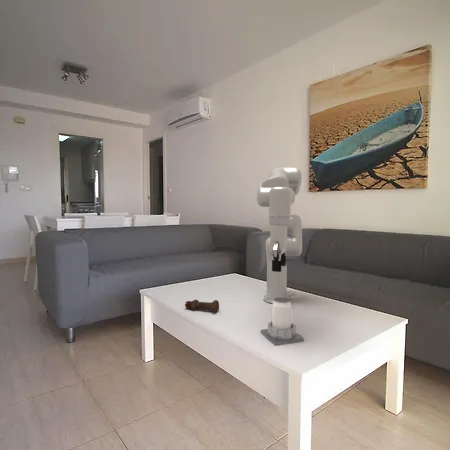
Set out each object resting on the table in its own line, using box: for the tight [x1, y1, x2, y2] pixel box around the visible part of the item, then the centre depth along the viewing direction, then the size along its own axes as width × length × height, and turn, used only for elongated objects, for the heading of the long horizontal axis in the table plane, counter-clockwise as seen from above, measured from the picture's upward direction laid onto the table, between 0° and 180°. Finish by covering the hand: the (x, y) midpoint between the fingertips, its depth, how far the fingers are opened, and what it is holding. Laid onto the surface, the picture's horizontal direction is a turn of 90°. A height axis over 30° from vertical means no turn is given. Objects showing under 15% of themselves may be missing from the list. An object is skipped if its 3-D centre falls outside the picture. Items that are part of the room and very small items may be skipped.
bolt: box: [184, 299, 220, 314], centre depth 134 cm, size 6×5×15 cm
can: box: [271, 298, 292, 330], centre depth 106 cm, size 6×6×12 cm
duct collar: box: [260, 320, 305, 346], centre depth 106 cm, size 11×11×4 cm
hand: (279, 268), depth 110 cm, fingers open, 9 cm apart
